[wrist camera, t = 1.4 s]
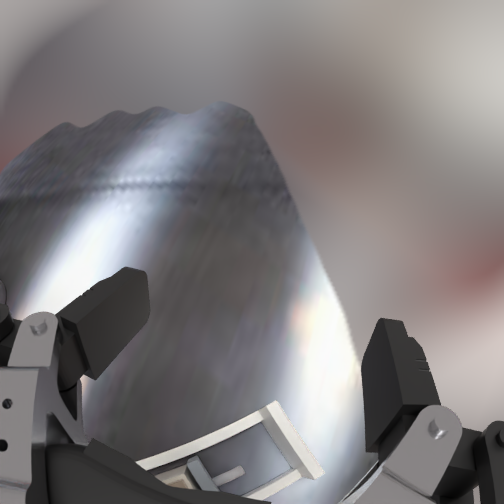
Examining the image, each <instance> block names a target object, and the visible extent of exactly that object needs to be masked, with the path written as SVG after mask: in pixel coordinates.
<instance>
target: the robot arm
mask: <svg viewBox="0 0 504 504" xmlns="http://www.w3.org/2000/svg"><path fill="white" fill-rule="evenodd" d="M5 302H6V290H5V286H4V284H3V282H2V281H1V280H0V504H271V502H268V501H262V500H257V499H252V498H247V497H242V496H238V495H233V494H229V493H225V492H220V491H206V490H195V489H187V488H179V487H173V486H169V485H167V484H165V483H163V482H162V481H160V480H159V479H157V478H156V477H155V476H153V475H152V474H150V473H149V472H148V471H146V470H145V469H144V468H142V467H141V466H140V465H138V464H137V463H136V462H134V461H133V460H132V459H131V458H129V457H128V456H125V455H123V454H121V453H119V452H117V451H116V450H114V449H112V448H110V447H108V446H106V445H104V444H103V443H101V442H99V441H97V440H95V439H94V438H93V439H92V440H91V442H90V443H89V444H88V442H87V439H86V436H85V434H84V430H83V420H82V384H81V381H80V378H81V376H82V375H83V374H84V375H86V376H88V377H90V378H92V379H94V380H97V378H98V377H99V376H100V375H101V374H102V373H103V371H104V370H105V369H106V368H107V367H108V366H109V365H110V363H111V362H112V361H113V360H114V359H115V358H116V357H117V355H118V354H119V353H120V352H121V351H122V350H123V349H124V347H125V346H126V345H127V344H128V343H129V342H130V341H131V340H132V338H133V337H134V336H135V335H136V334H137V333H138V332H139V331H140V330H141V328H142V327H143V326H144V325H145V324H146V322H147V321H148V318H149V315H150V300H149V290H148V279H147V274H146V272H145V271H142V270H138V269H134V268H130V267H124V268H122V269H121V270H120V271H118V272H117V273H115V274H114V275H113V276H111V277H109V278H106V279H104V280H101V281H99V282H98V283H96V284H95V285H94V286H92V287H91V288H90V290H87V291H86V292H84V293H83V294H82V296H81V295H80V296H79V297H78V298H76V299H75V300H74V301H72V302H71V303H70V304H68V305H67V306H66V307H64V308H63V309H62V310H61V311H59V312H58V313H57V314H55V315H54V314H52V313H49V312H38V313H34V314H32V315H30V316H28V317H27V318H25V319H24V320H23V321H21V320H16V319H13V318H12V316H11V313H10V310H9V308H8V306H7V305H5ZM429 370H430V368H429V366H428V362H426V357H425V354H424V352H423V349H422V347H421V346H420V345H419V344H418V343H417V341H416V340H415V339H414V338H413V337H408V335H407V332H406V329H405V327H404V324H403V322H402V321H399V320H392V319H385V318H380V319H379V320H378V322H377V324H376V327H375V329H374V332H373V334H372V337H371V339H370V342H369V344H368V346H367V349H366V351H365V353H364V356H363V360H362V366H361V375H362V386H363V399H364V416H365V440H366V452H375V453H378V458H379V460H378V461H377V462H376V463H375V464H374V466H373V467H372V468H371V469H370V470H369V471H368V473H367V474H366V475H365V476H364V477H363V478H362V479H361V480H360V481H359V483H358V484H357V485H356V486H355V487H354V488H353V489H352V490H351V491H350V492H349V493H348V494H347V495H346V496H345V497H344V498H343V499H342V500H341V501H340V502H339V503H338V504H474V497H473V489H474V488H475V487H477V486H478V485H479V491H480V501H481V504H504V422H503V421H495V422H492V423H491V424H490V425H489V426H488V427H487V428H486V429H485V430H484V431H483V432H479V431H474V430H471V429H466V428H463V427H462V425H461V422H460V419H459V418H458V416H457V415H456V414H455V413H454V412H453V411H451V410H450V409H449V408H447V407H444V406H441V403H440V400H439V396H438V393H437V390H436V386H435V383H434V380H433V377H432V374H431V372H429Z"/></svg>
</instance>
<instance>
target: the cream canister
mask: <svg viewBox="0 0 504 504" xmlns="http://www.w3.org/2000/svg"><path fill="white" fill-rule="evenodd" d="M155 477H156V478H157V479H159V480H160V481H162V482H163V483H165V484H167V485H169V486H173V487H179V488H187V489H195V490H202V489H201V487H200V486H199V484H198V482H197V481H196V479H195V478H194V476H193V475H192V473H191V471H190V470H189V468H188V466H187V465H183V466H180V467H178V468H175V469H172V470H170V471H167V472H164V473H161V474H158V475H155Z"/></svg>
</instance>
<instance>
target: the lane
mask: <svg viewBox="0 0 504 504" xmlns="http://www.w3.org/2000/svg"><path fill="white" fill-rule="evenodd" d="M259 422H262V424H263V425H264V427H265V428H266V430H267V431H268V433H269V435H270V436H271V438H272V439H273V441H274V442H275V444H276V445H277V447H278V448H279V450H280V451H281V453H282V454H283V456H284V457H285V459H286V460H287V462H288V463H289V465H290V466H291V467H292V469H290V470H289V471H287V472H285V473H283V474H282V475H280V476H278V477H277V478H275V479H273V480H271V481H269V482H268V483H266V484H264V485H262V486H260V487H258V488H256V489H254V490H252V491H250V492H248V493H246V494H244V495H242V497H247V498H252V499H257V500H264V499H266V498H268V497H269V496H271V495H273V494H275V493H277V492H278V491H280V490H282V489H284V488H285V487H287V486H289V485H290V484H292V483H294V482H295V481H297V480H299V479H300V478H302V477H304V478H309V479H313V480H316V479H317V478H319V477H320V476H322V475H323V474H324V473H325V472H324V470H323V469H322V468H321V466H320V465H319V463H318V462H317V460H316V459H315V458H314V456H313V455H312V453H311V452H310V450H309V449H308V447H307V446H306V444H305V443H304V441H303V440H302V438H301V437H300V435H299V434H298V432H297V431H296V429H295V428H294V426H293V425H292V423H291V422H290V420H289V419H288V417H287V416H286V414H285V413H284V411H283V409H282V408H281V406H280V405H279V403H278V402H277V400H276V401H274V402H272V403H270V404H269V405H267V406H265V407H263V408H262V409H260V410H258V411H256V412H254V413H252V414H250V415H248V416H246V417H244V418H243V419H240V420H238V421H236V422H234V423H232V424H230V425H228V426H226V427H224V428H222V429H220V430H217V431H215V432H213V433H211V434H208V435H206V436H204V437H202V438H199V439H197V440H194V441H192V442H190V443H187V444H185V445H182V446H179V447H177V448H174V449H172V450H169V451H166V452H163V453H161V454H158V455H155V456H152V457H149V458H146V459H143V460H140V461H137V462H136V463H137V464H138V465H140V466H141V467H142V468H144V469H145V470H149V469H152V468H155V467H158V466H161V465H164V464H167V463H169V462H172V461H175V460H177V459H180V458H183V457H185V456H188V455H190V454H193V453H195V452H198V451H200V450H202V449H205V448H207V447H209V446H212V445H214V444H216V443H218V442H220V441H223V440H225V439H227V438H229V437H231V436H233V435H235V434H237V433H239V432H241V431H243V430H245V429H247V428H249V427H251V426H253V425H255V424H257V423H259Z"/></svg>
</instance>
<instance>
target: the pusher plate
mask: <svg viewBox="0 0 504 504" xmlns="http://www.w3.org/2000/svg"><path fill="white" fill-rule="evenodd" d="M186 465H187V466H188V468H189V470H190V471H191V473H192V475H193V476H194V478H195V479H196V481H197V482H198V484H199V486H200V487H201V489H202V490H206V491H220V490H219V488H218V486H220V485H223V484H225V483H227V482H229V481H231V480H234V479H236V478H238V477H240V476H242V475H244V474H246V473H245V471H244V470H243V468H242V467H241V466H238V467H236V468H234V469H231V470H229V471H227V472H225V473H223V474H221V475H218V476H216V477H214V478H211V476H210V475H209V473H208V472H207V470H206V468H205V467H204V465H203V464H202V462H201V460H200V459H199V457H198V455H196V456H194V457H192V458H189V459H188V461H187V464H186ZM220 492H221V491H220Z"/></svg>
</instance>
